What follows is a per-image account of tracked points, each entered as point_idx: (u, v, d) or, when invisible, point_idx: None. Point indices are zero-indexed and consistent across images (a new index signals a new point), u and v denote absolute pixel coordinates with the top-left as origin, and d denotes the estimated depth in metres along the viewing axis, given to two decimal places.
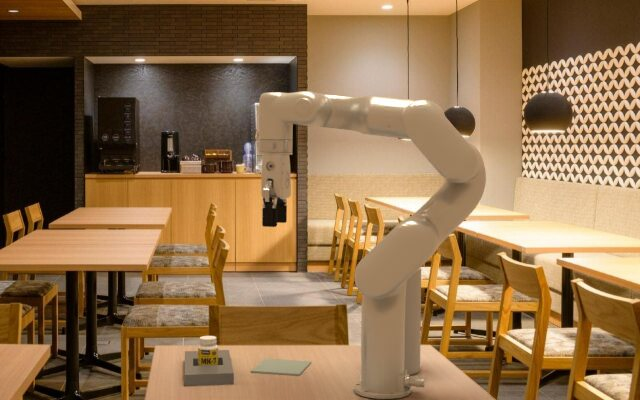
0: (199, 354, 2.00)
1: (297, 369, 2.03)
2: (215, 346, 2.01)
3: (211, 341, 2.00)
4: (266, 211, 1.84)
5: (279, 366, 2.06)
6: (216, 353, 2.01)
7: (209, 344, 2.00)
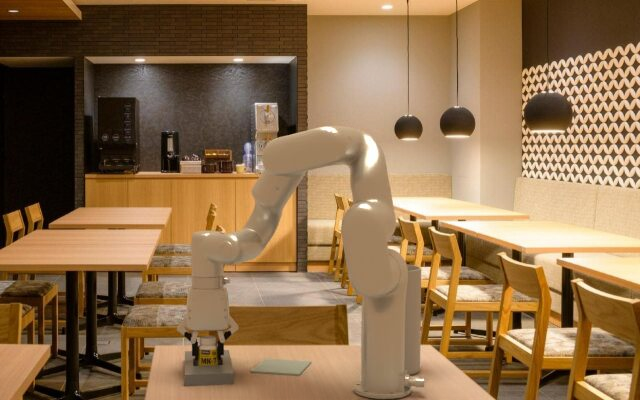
0: (199, 354, 2.00)
1: (297, 369, 2.03)
2: (215, 346, 2.01)
3: (211, 341, 2.00)
4: (223, 344, 2.02)
5: (279, 366, 2.06)
6: (216, 353, 2.01)
7: (209, 344, 2.00)
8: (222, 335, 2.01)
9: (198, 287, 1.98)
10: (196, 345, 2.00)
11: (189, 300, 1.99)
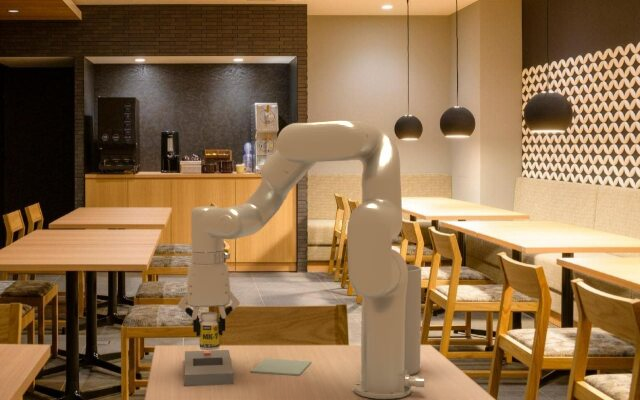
0: (200, 330, 2.00)
1: (297, 369, 2.03)
2: (216, 322, 2.01)
3: (213, 317, 2.00)
4: None
5: (279, 366, 2.06)
6: (217, 329, 2.01)
7: (210, 320, 2.00)
8: (223, 310, 2.00)
9: (198, 262, 1.97)
10: (197, 321, 2.00)
11: (190, 276, 1.98)
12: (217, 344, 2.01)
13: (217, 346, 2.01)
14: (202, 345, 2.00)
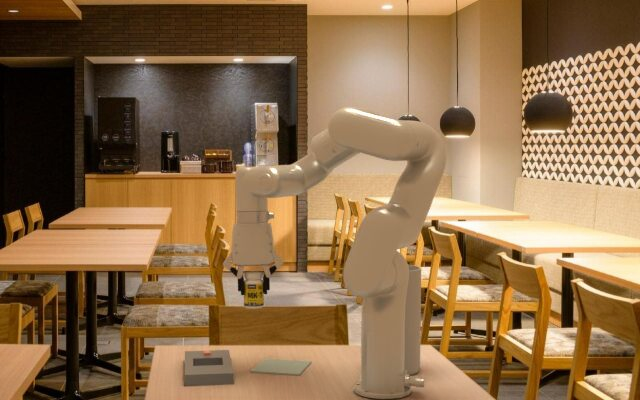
0: (245, 289, 2.02)
1: (297, 369, 2.03)
2: (261, 281, 2.02)
3: (257, 276, 2.01)
4: None
5: (279, 366, 2.06)
6: (262, 288, 2.02)
7: (255, 278, 2.01)
8: (268, 270, 2.02)
9: (244, 221, 1.99)
10: (242, 280, 2.01)
11: (235, 235, 2.00)
12: (262, 303, 2.02)
13: (262, 305, 2.02)
14: (247, 303, 2.01)
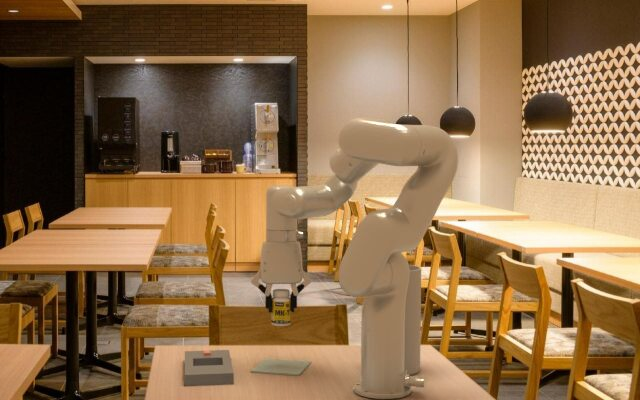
0: (273, 306, 2.04)
1: (297, 369, 2.03)
2: (288, 298, 2.05)
3: (285, 294, 2.04)
4: (296, 297, 2.05)
5: (279, 366, 2.06)
6: (289, 305, 2.05)
7: (283, 296, 2.04)
8: (295, 288, 2.04)
9: (273, 240, 2.01)
10: (270, 297, 2.04)
11: (264, 253, 2.02)
12: (289, 320, 2.05)
13: (288, 322, 2.05)
14: (274, 321, 2.04)
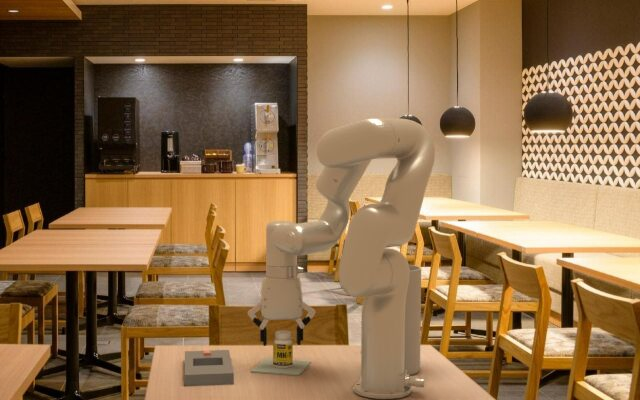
0: (275, 348, 2.05)
1: (297, 369, 2.03)
2: (290, 340, 2.05)
3: (287, 336, 2.04)
4: None
5: None
6: (291, 347, 2.05)
7: (285, 338, 2.04)
8: (300, 321, 2.05)
9: (273, 276, 2.02)
10: (265, 331, 2.04)
11: (264, 289, 2.03)
12: (290, 362, 2.05)
13: (290, 364, 2.05)
14: (276, 363, 2.04)
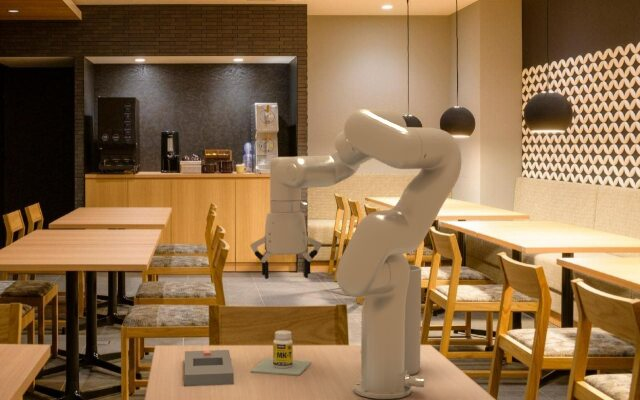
0: (275, 348, 2.05)
1: (297, 369, 2.03)
2: (290, 340, 2.05)
3: (287, 336, 2.04)
4: None
5: None
6: (291, 347, 2.05)
7: (285, 338, 2.04)
8: (307, 254, 2.06)
9: (278, 210, 2.03)
10: (267, 264, 2.04)
11: (269, 224, 2.04)
12: (290, 362, 2.05)
13: (290, 364, 2.05)
14: (276, 363, 2.04)
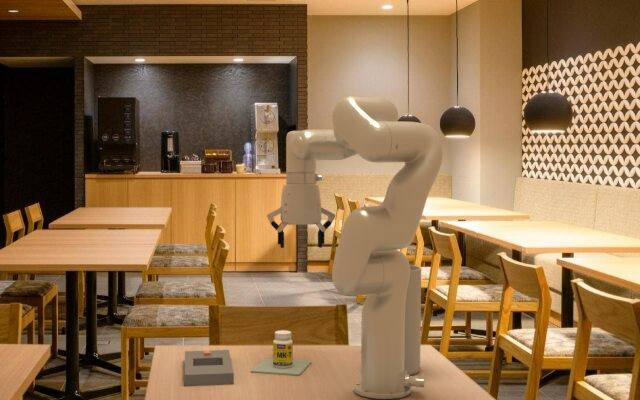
0: (275, 348, 2.05)
1: (297, 369, 2.03)
2: (290, 340, 2.05)
3: (287, 336, 2.04)
4: None
5: None
6: (291, 347, 2.05)
7: (285, 338, 2.04)
8: (321, 225, 2.14)
9: (294, 182, 2.10)
10: (282, 233, 2.13)
11: (285, 195, 2.12)
12: (290, 362, 2.05)
13: (290, 364, 2.05)
14: (276, 363, 2.04)
